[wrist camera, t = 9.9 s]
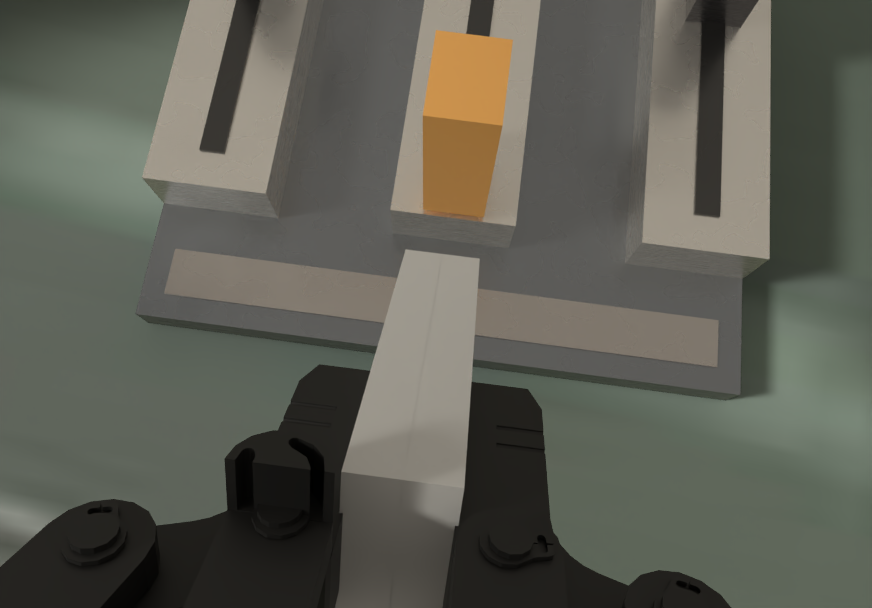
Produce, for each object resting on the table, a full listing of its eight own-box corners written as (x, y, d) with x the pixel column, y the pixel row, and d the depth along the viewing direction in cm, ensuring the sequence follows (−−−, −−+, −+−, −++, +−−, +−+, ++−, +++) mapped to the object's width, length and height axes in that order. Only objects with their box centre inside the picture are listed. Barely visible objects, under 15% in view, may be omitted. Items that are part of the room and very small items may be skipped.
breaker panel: (148, 322, 31) (6, 227, 21) (263, -132, 38) (200, -379, 27) (725, 400, 31) (885, 342, 20) (736, -75, 37) (858, -304, 27)
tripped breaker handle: (422, 209, 28) (422, 115, 21) (433, 141, 29) (435, 30, 22) (483, 217, 28) (502, 125, 21) (492, 148, 29) (513, 39, 22)
